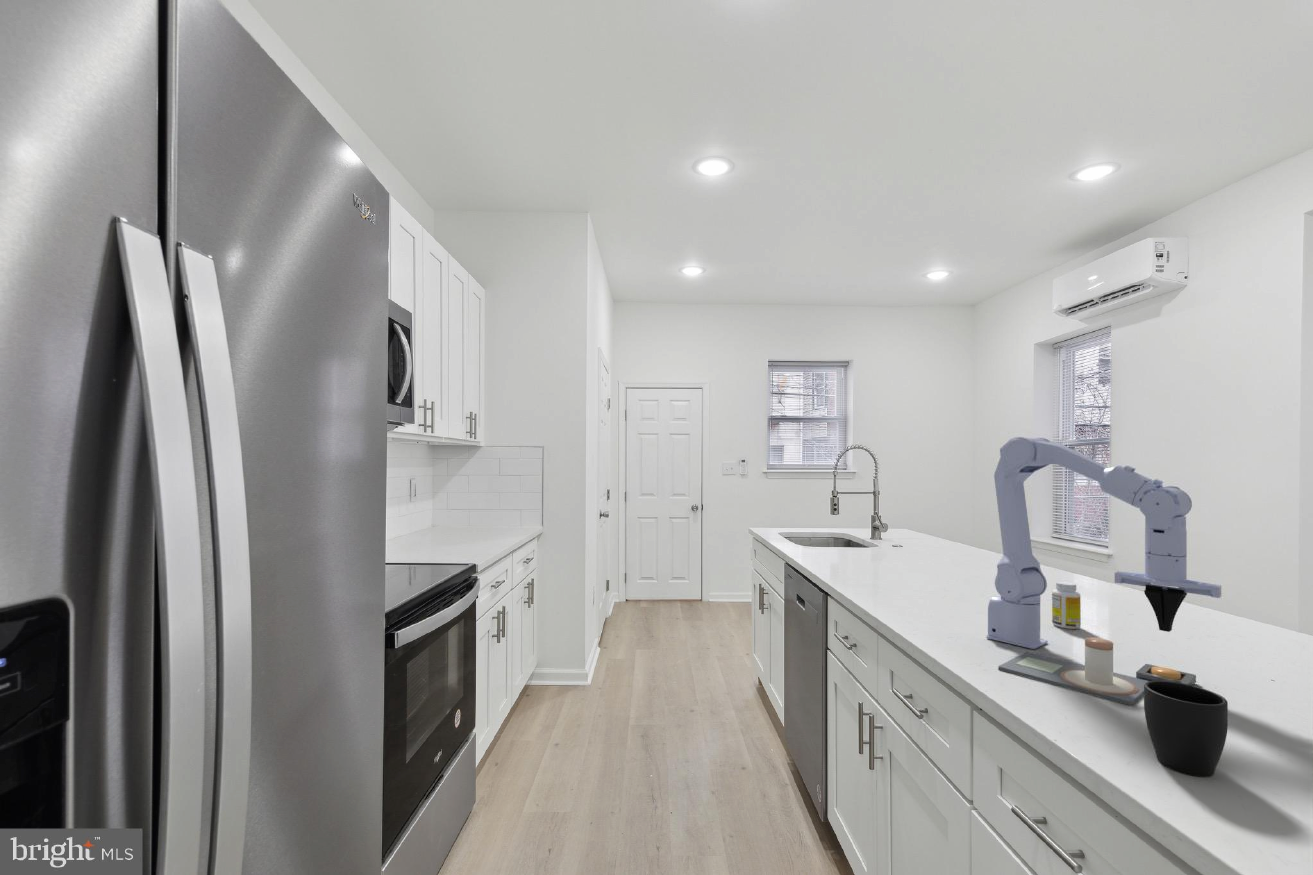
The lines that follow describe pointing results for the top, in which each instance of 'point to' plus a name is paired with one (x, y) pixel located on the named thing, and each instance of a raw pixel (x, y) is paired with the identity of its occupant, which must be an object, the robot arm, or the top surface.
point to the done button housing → (1146, 675)
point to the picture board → (1074, 677)
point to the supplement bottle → (1066, 606)
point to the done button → (1166, 672)
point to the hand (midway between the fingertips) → (1165, 630)
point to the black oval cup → (1186, 726)
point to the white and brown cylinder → (1099, 661)
